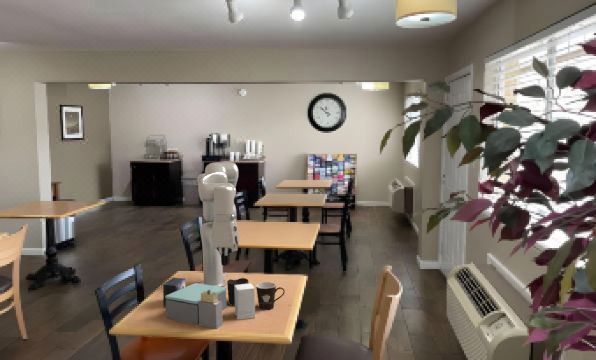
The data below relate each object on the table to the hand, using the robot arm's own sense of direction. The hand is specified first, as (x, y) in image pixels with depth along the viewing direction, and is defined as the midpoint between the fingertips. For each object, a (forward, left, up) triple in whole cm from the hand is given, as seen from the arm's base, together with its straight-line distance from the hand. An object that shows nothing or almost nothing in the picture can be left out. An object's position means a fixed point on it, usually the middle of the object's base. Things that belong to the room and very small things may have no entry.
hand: (225, 264), depth 191 cm
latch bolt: (0, -8, -16) cm, 18 cm away
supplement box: (-14, -1, -26) cm, 29 cm away
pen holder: (-26, -12, -26) cm, 38 cm away
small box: (-13, -37, -26) cm, 47 cm away
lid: (-8, -21, -17) cm, 28 cm away
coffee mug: (-26, +4, -26) cm, 37 cm away
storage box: (-8, -16, -26) cm, 31 cm away
